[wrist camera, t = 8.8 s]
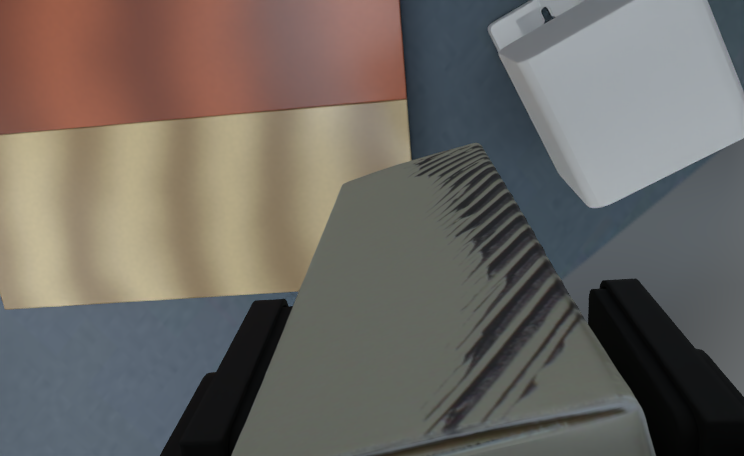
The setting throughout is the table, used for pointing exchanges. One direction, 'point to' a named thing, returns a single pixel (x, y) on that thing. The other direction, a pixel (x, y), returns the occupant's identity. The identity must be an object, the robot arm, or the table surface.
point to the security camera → (622, 88)
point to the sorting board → (186, 141)
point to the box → (438, 333)
